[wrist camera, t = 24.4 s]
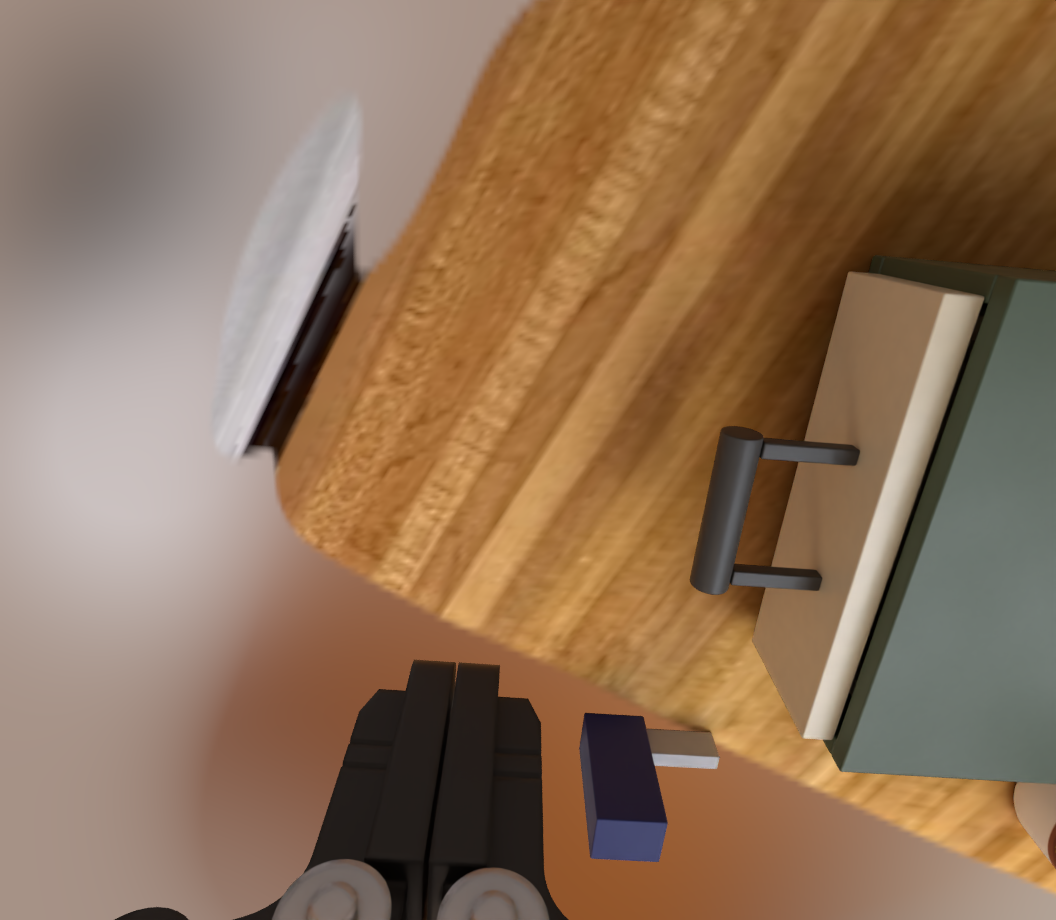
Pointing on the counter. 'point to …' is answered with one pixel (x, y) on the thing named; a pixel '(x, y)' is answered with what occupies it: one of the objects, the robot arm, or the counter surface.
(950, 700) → the cabinet
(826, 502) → the drawer
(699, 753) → the blue block with post
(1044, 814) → the milk bottle
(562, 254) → the counter surface
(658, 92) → the counter surface
